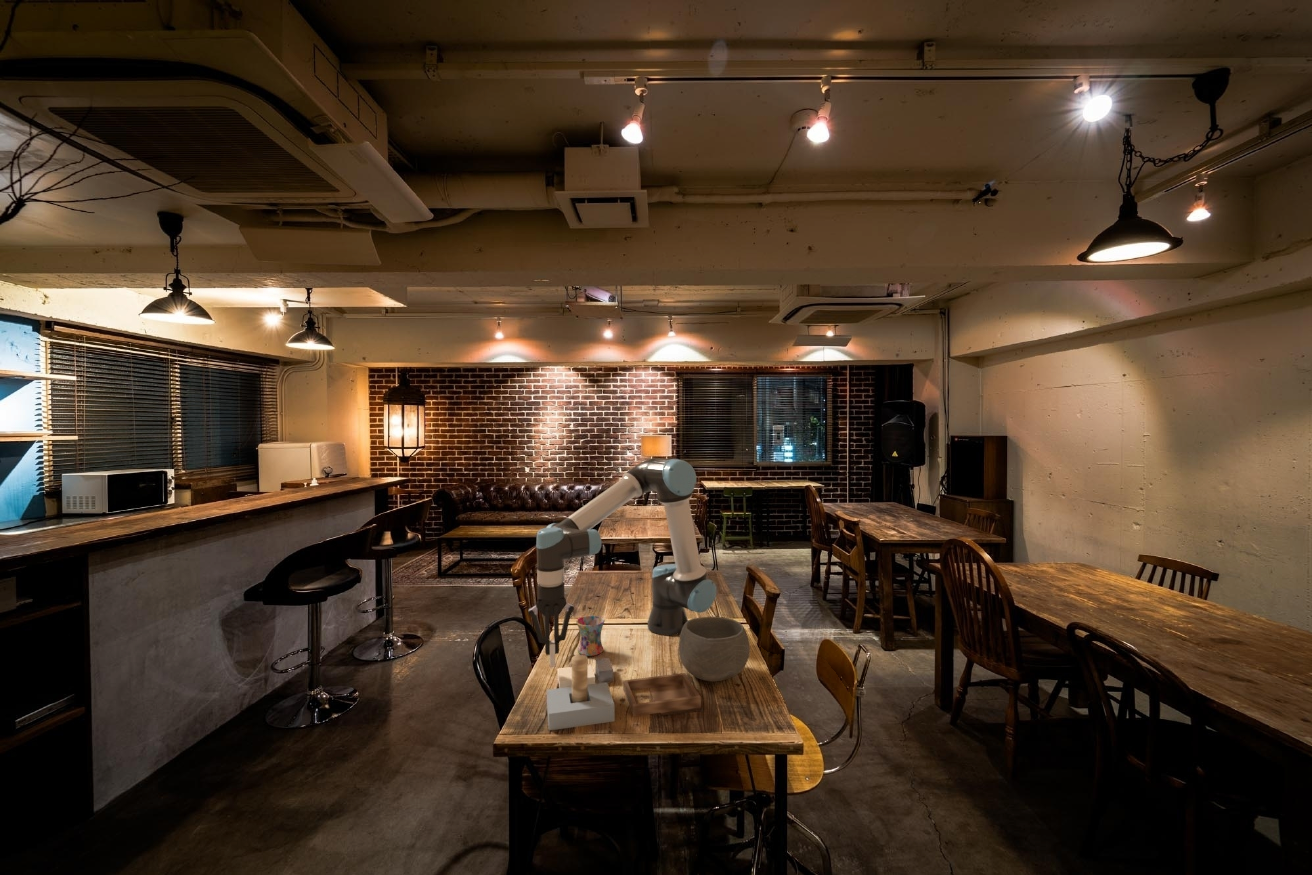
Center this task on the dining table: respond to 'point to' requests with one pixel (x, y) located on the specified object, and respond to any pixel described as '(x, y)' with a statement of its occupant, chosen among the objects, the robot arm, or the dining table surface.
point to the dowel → (579, 678)
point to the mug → (590, 635)
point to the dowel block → (579, 707)
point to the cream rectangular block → (566, 676)
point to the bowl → (713, 648)
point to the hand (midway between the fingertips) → (552, 664)
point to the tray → (664, 695)
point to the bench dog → (604, 670)
